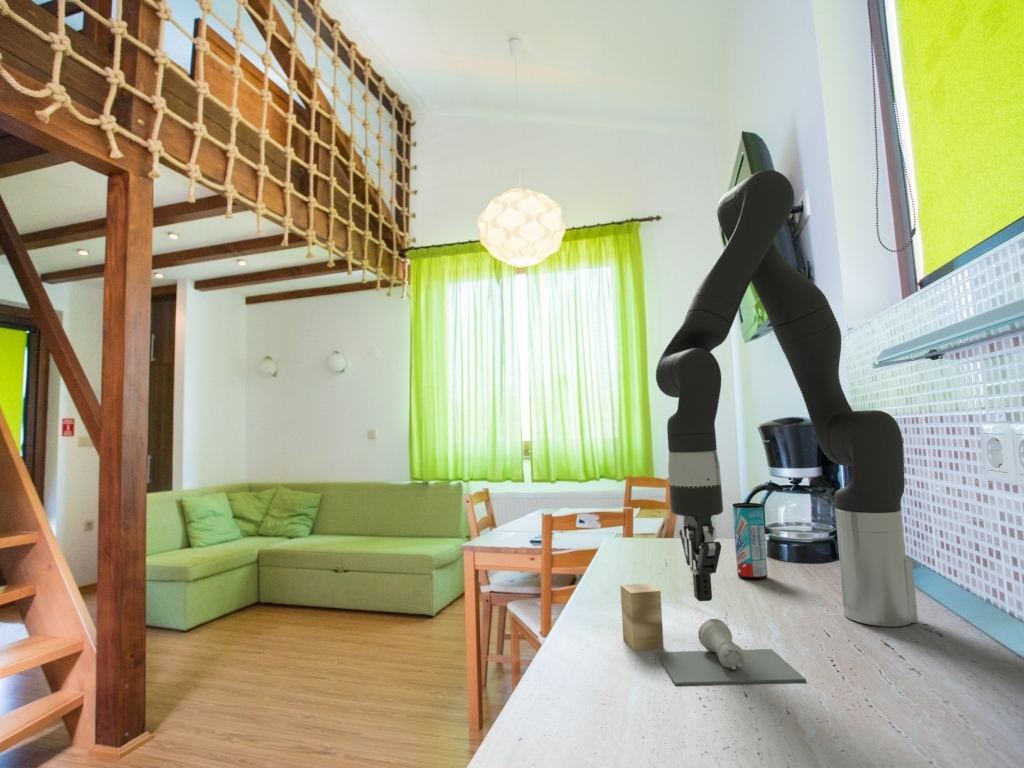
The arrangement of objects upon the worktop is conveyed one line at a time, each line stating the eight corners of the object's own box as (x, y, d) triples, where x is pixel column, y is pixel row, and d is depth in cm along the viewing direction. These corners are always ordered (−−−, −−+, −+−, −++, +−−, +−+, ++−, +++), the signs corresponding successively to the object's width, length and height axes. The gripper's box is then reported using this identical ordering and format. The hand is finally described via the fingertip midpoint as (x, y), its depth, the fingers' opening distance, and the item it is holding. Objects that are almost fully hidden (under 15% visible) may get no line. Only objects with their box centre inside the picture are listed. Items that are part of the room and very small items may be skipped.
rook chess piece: (725, 651, 82) (748, 680, 74) (694, 645, 82) (713, 673, 74) (731, 620, 82) (754, 646, 74) (700, 614, 82) (720, 639, 74)
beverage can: (741, 572, 125) (736, 502, 127) (770, 575, 122) (765, 503, 123) (733, 578, 120) (728, 505, 122) (764, 582, 117) (758, 506, 118)
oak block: (651, 637, 88) (648, 583, 89) (663, 647, 84) (660, 590, 85) (623, 639, 88) (620, 585, 88) (633, 650, 83) (630, 593, 84)
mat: (771, 651, 81) (771, 648, 81) (806, 681, 71) (805, 679, 71) (656, 654, 81) (656, 652, 81) (674, 685, 71) (674, 682, 71)
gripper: (735, 484, 81) (745, 612, 79) (705, 477, 94) (713, 586, 93) (681, 486, 81) (690, 614, 80) (659, 479, 94) (666, 588, 93)
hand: (703, 599), depth 86 cm, fingers closed
